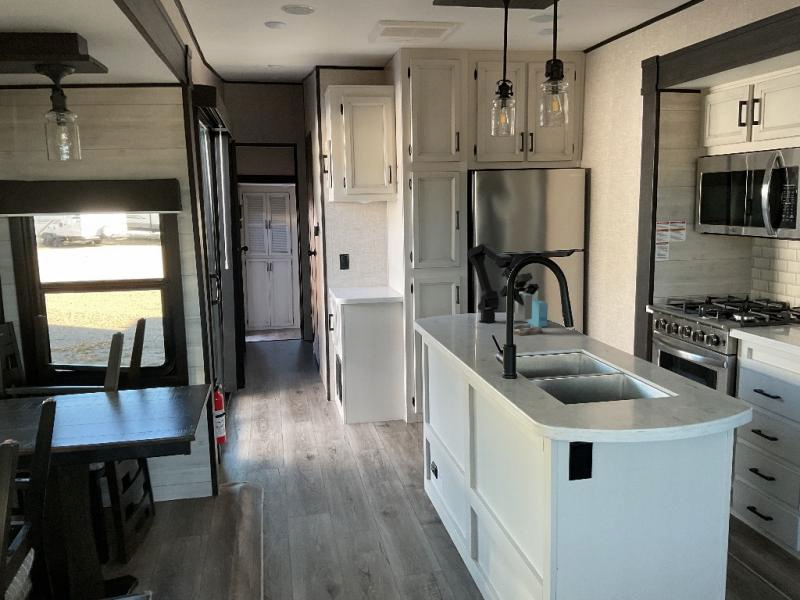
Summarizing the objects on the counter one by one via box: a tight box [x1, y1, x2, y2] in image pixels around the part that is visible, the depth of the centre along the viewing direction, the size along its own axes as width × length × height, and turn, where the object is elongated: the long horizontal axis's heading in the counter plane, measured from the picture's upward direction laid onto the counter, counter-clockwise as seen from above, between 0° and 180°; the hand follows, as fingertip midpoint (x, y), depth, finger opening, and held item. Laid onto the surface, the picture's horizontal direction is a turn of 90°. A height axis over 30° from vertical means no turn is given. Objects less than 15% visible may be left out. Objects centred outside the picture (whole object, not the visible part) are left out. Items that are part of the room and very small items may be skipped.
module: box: [518, 293, 532, 320], centre depth 305 cm, size 4×5×11 cm
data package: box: [527, 299, 548, 328], centre depth 324 cm, size 12×4×12 cm, turn 15°
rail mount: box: [513, 323, 544, 336], centre depth 307 cm, size 13×10×3 cm
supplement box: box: [514, 290, 539, 323], centre depth 337 cm, size 9×9×15 cm
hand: (527, 304), depth 304 cm, fingers closed on module, 4 cm apart
